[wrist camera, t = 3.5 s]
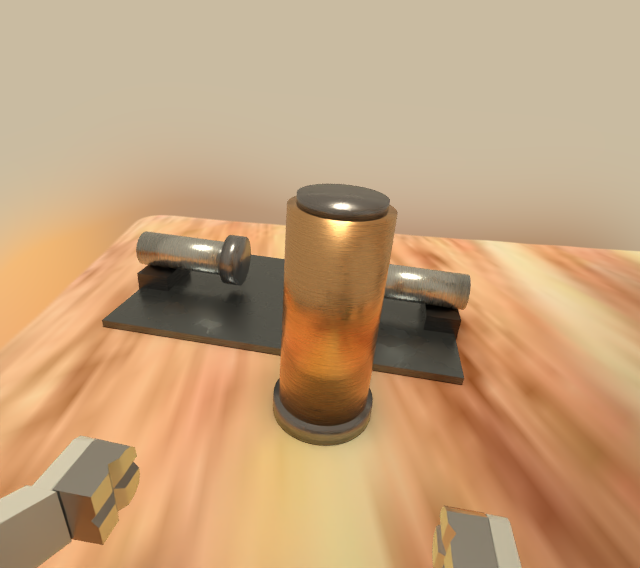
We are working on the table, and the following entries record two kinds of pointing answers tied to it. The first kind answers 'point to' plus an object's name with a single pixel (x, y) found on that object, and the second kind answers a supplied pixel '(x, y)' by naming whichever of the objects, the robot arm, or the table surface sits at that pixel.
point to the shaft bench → (267, 304)
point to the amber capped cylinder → (331, 309)
